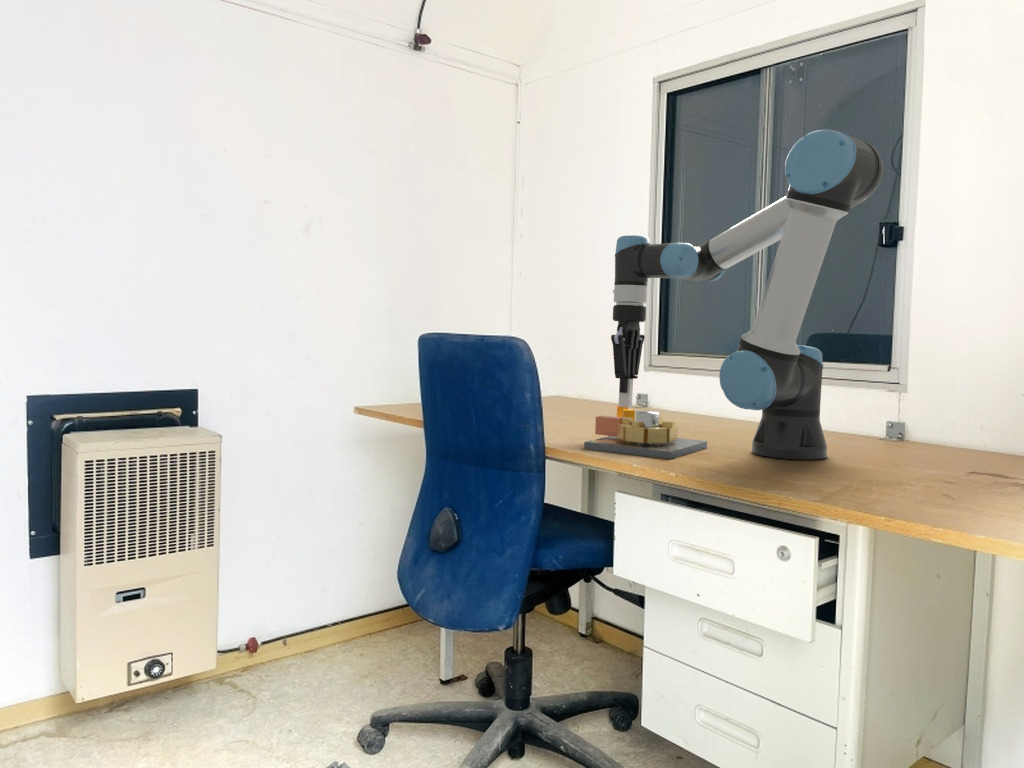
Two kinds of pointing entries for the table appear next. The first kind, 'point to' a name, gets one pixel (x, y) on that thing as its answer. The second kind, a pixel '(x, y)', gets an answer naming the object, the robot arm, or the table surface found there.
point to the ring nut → (636, 430)
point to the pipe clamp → (625, 412)
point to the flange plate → (647, 449)
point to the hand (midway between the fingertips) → (625, 406)
